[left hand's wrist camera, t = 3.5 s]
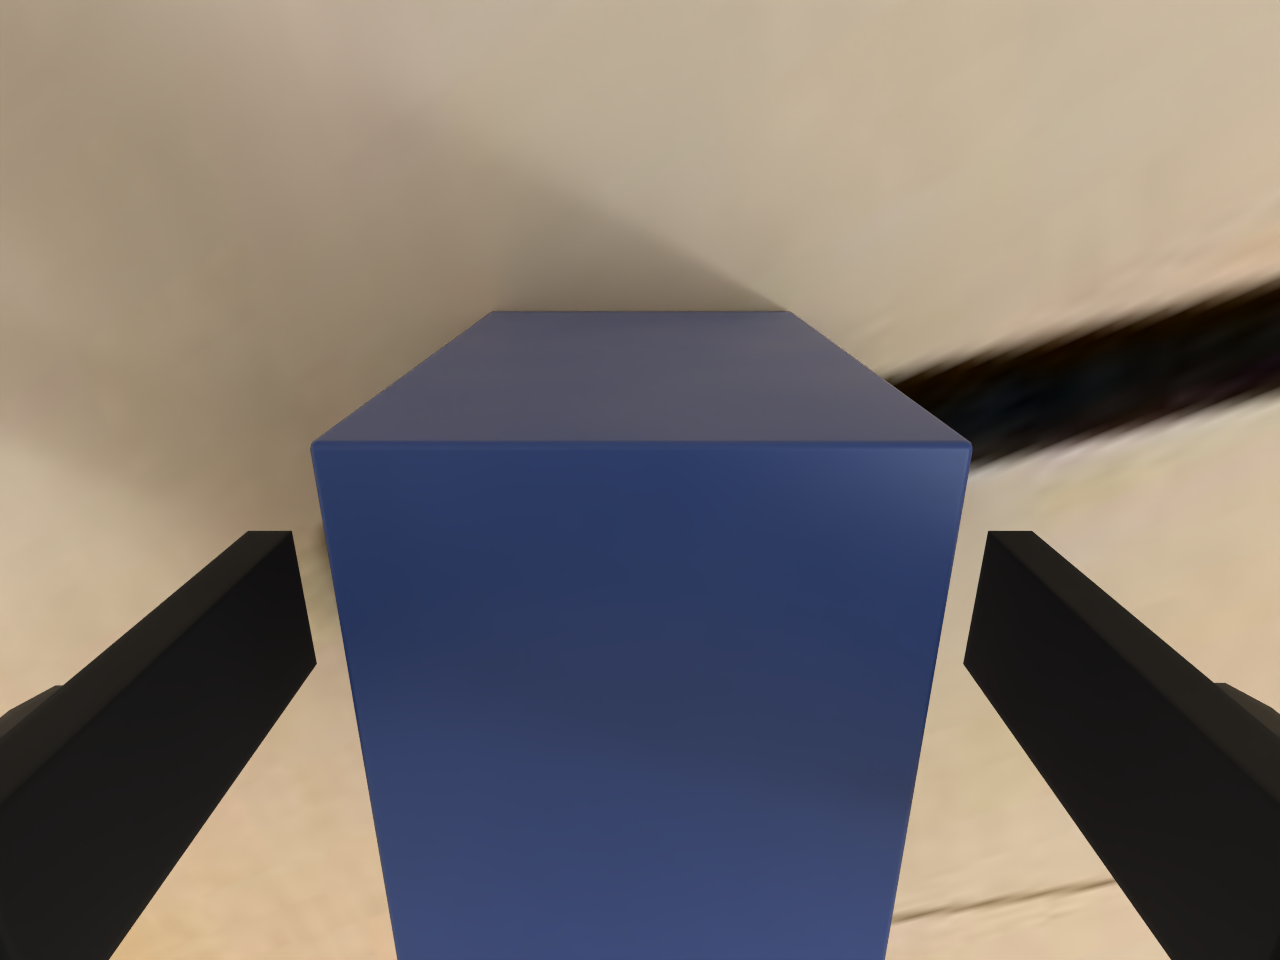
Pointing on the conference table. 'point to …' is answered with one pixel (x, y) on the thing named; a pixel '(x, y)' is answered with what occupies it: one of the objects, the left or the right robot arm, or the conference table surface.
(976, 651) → the left robot arm
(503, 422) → the brick
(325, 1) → the conference table surface
